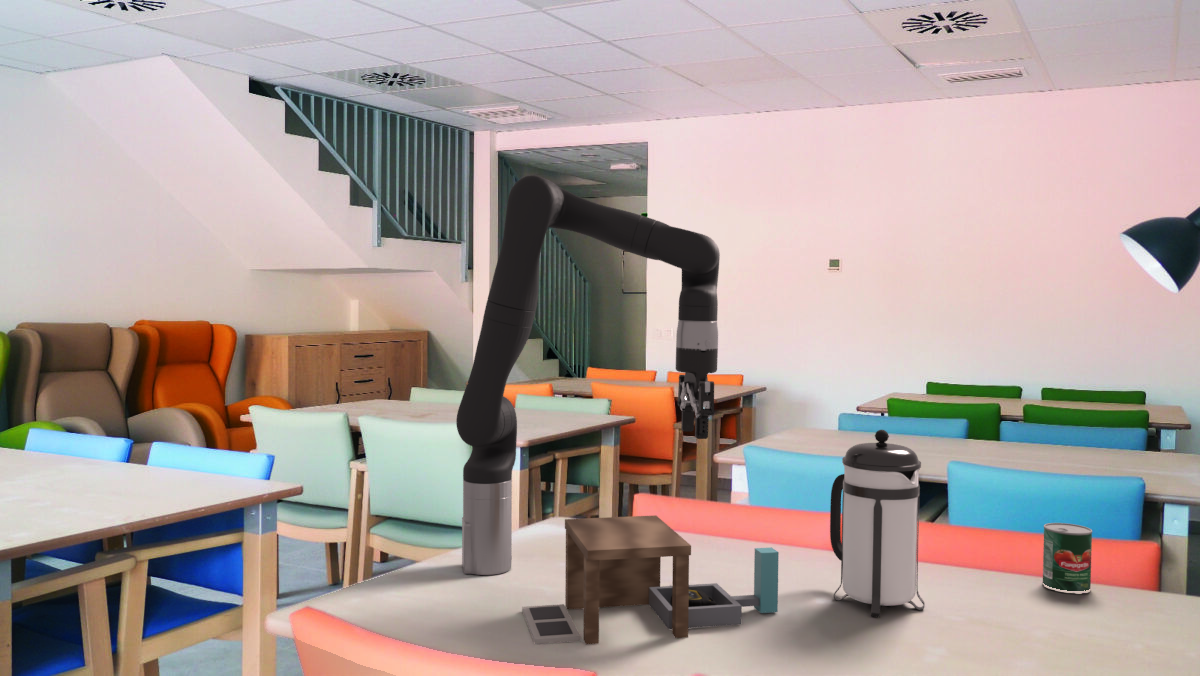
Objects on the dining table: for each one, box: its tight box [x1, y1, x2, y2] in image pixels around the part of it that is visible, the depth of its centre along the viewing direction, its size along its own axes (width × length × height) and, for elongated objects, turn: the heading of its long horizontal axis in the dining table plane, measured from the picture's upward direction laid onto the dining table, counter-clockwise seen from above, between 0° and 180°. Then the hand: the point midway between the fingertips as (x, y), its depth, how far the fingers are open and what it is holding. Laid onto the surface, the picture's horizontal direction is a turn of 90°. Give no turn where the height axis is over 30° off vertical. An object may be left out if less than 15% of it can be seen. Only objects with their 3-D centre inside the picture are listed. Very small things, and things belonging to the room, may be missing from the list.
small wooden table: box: [564, 515, 692, 645], centre depth 151 cm, size 16×20×14 cm
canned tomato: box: [1042, 522, 1093, 591], centre depth 170 cm, size 8×8×11 cm
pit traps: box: [521, 603, 582, 645], centre depth 148 cm, size 7×15×1 cm, turn 12°
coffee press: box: [829, 429, 925, 618], centre depth 160 cm, size 17×16×30 cm
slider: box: [648, 547, 780, 630], centre depth 154 cm, size 20×12×10 cm, turn 102°
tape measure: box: [670, 589, 717, 607], centre depth 154 cm, size 7×7×4 cm
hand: (694, 434), depth 170 cm, fingers open, 8 cm apart
